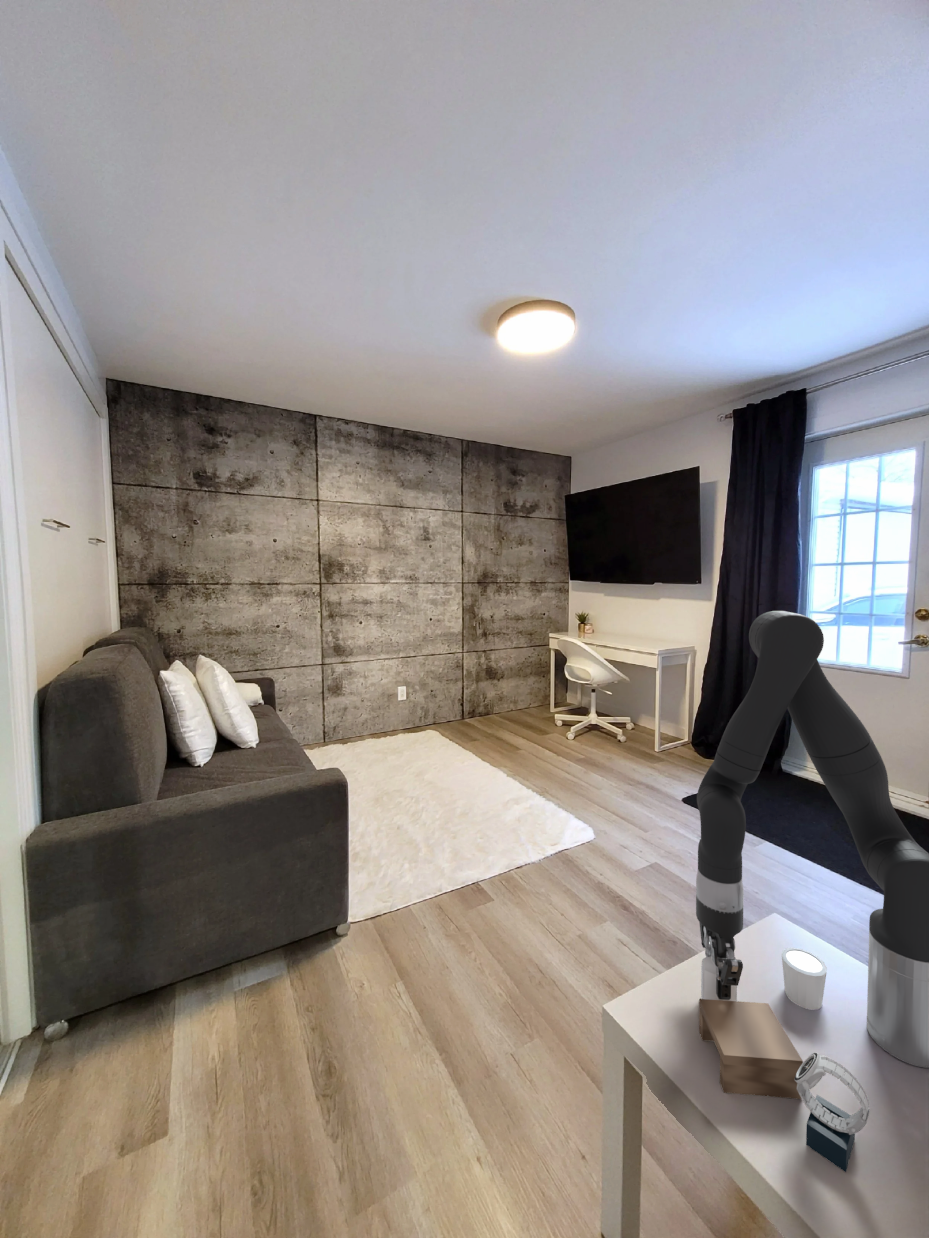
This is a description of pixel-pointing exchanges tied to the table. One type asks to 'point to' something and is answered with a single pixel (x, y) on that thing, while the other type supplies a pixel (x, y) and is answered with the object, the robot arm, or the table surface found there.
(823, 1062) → the watch
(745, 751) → the robot arm
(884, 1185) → the table surface
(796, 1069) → the brown wooden block
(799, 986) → the white oval container
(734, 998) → the eye dropper bottle
